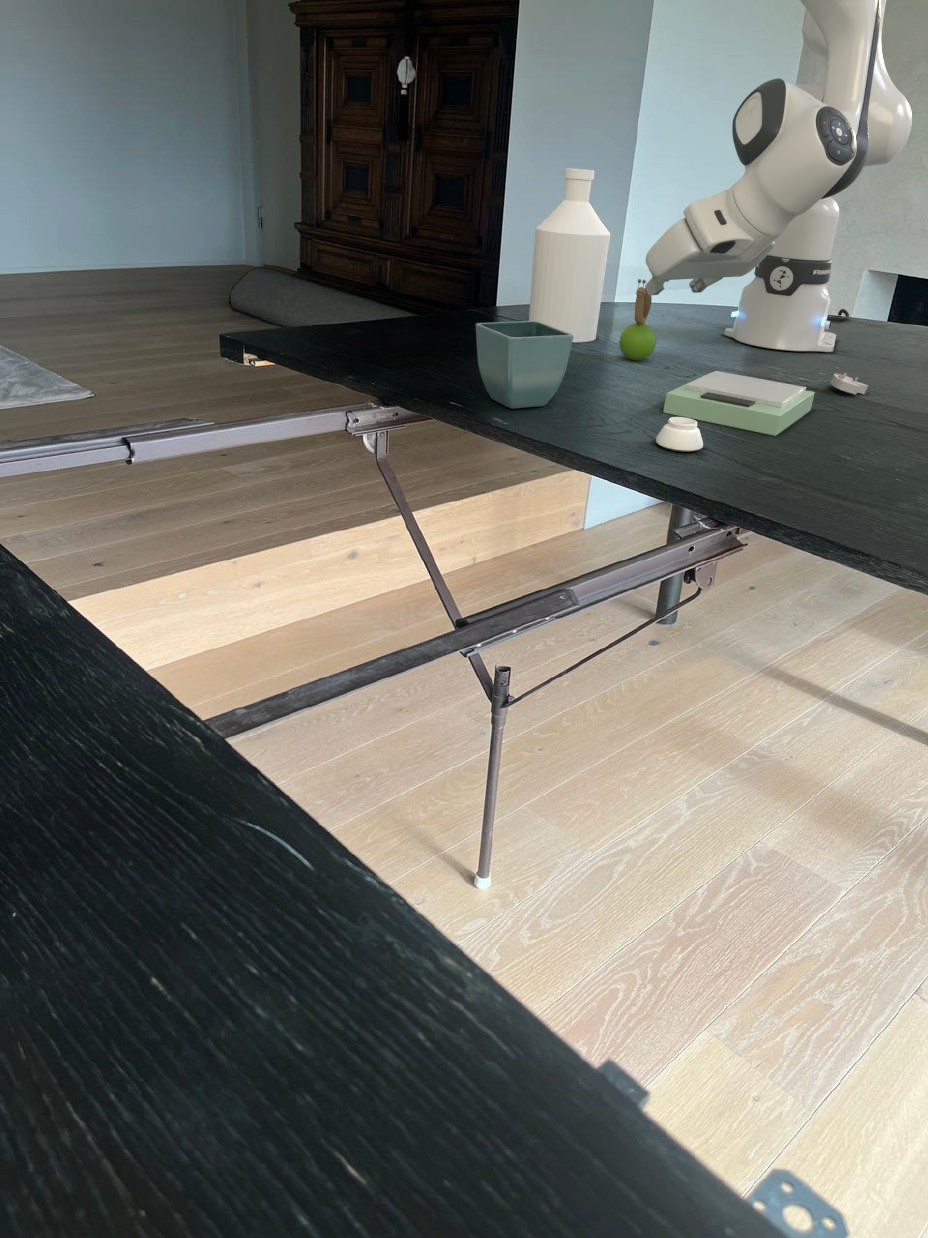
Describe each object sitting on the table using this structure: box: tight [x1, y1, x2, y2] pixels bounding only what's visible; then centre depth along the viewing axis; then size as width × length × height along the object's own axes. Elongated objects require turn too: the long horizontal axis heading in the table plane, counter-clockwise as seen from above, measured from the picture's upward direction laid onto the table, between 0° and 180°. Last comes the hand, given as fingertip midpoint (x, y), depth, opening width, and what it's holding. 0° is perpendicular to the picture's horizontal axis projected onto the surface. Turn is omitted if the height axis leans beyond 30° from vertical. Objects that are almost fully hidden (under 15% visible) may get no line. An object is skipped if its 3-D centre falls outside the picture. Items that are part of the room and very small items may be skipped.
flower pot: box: [475, 320, 574, 410], centre depth 115 cm, size 9×9×9 cm
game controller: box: [781, 372, 869, 395], centre depth 134 cm, size 6×12×3 cm, turn 100°
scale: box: [662, 370, 816, 437], centre depth 120 cm, size 16×14×3 cm
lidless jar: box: [655, 416, 704, 453], centre depth 104 cm, size 5×3×5 cm
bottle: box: [528, 167, 611, 343], centre depth 153 cm, size 12×12×25 cm
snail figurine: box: [619, 278, 657, 362], centre depth 142 cm, size 5×6×12 cm
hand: (672, 289), depth 136 cm, fingers open, 8 cm apart
